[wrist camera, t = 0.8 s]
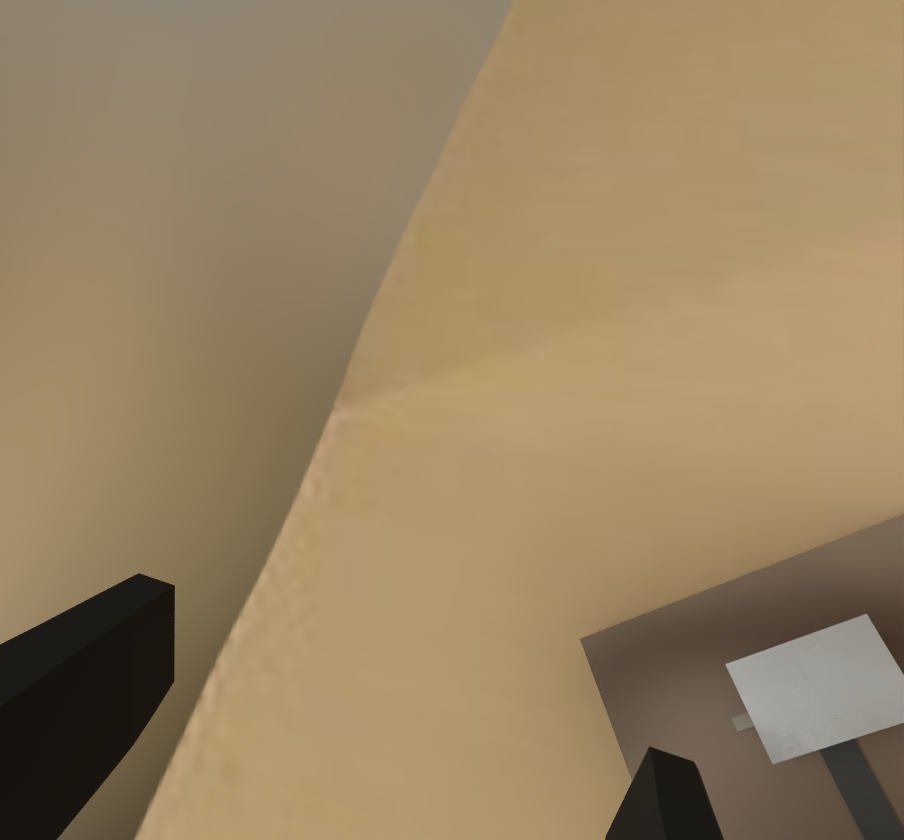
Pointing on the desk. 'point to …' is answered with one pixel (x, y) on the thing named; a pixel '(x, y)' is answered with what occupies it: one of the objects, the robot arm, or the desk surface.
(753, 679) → the fader tab
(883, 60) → the desk surface
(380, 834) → the desk surface
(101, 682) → the robot arm
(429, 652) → the desk surface
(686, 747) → the console board
